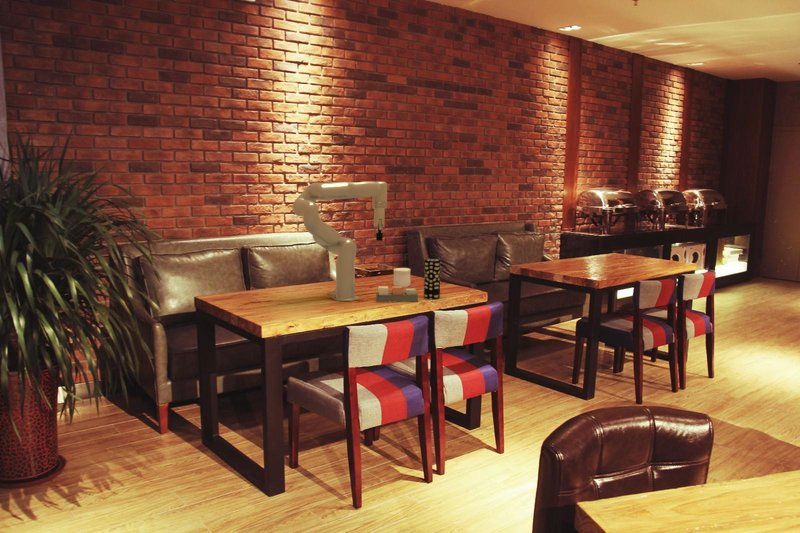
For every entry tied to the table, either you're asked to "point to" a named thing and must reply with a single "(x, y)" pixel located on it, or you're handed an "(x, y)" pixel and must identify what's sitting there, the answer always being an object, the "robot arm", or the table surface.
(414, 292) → the sage button
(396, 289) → the clay button
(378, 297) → the button box
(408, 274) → the cup
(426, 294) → the white-spotted black cylinder
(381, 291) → the white button
